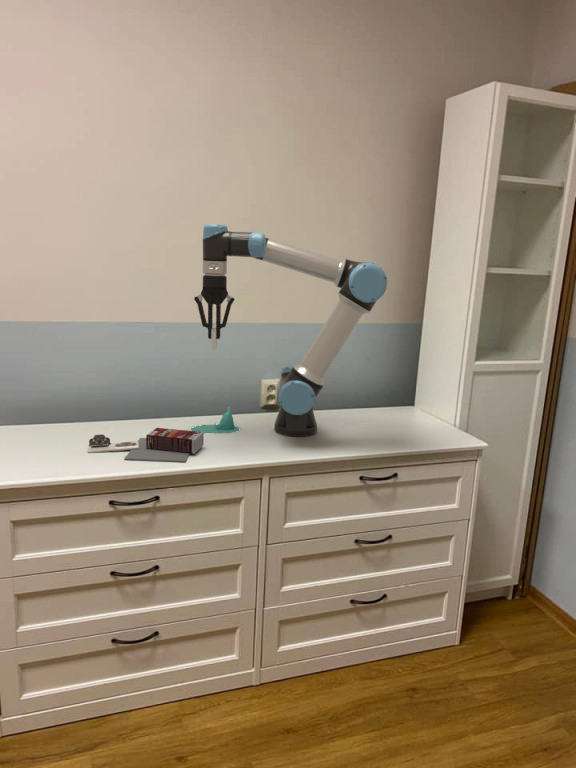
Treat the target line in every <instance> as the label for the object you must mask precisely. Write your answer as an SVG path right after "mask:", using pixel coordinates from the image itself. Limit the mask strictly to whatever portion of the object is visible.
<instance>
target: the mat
mask: <svg viewBox="0 0 576 768" xmlns="http://www.w3.org/2000/svg"><path fill="white" fill-rule="evenodd" d="M137 441H138V442H139V449H133V450H129V452H128V453H127V454H126V455H125V457H124V459H123V460H124V461H133V462H134V461H137V462H138V461H139V462H140V461H141V462H161V463H163V462H164V463H165V462H166V463H186V462H187V461H188V458H189V457H190V454H191V453H184V452H175V451H165V450H155V449H147V448H146V437H140V438H139V439H138V440H137Z"/></svg>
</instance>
